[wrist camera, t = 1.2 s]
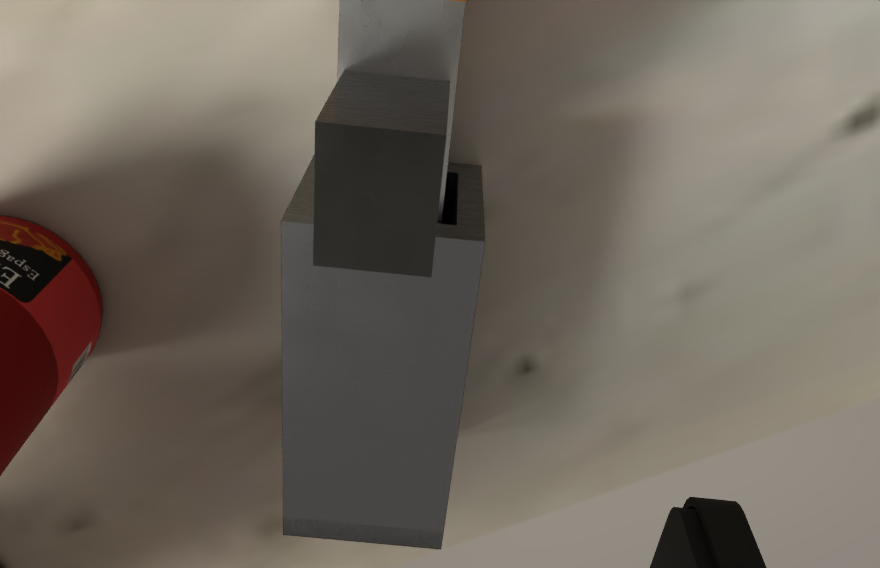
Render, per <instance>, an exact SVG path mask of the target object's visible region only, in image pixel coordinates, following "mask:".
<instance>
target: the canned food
mask: <svg viewBox="0 0 880 568" xmlns="http://www.w3.org/2000/svg"><path fill="white" fill-rule="evenodd" d="M102 315H103V307H102V297H101V294H100V290H99V287H98V284H97V282H96V280H95V278H94V276H93V274H92V272H91V270H90V268H89V267H88V266H87V264H86V263H85V262H84V260H83V259H82V257H81V256H80V255H79V254H78V253H77V252H76V251H75V250H74V249H73V248H72V247H71V246H70V245H69V244H68V243H66V242H65V241H64V240H62V239H61V238H59V237H58V236H57V235H55V234H54V233H53V232H51V231H49V230H47V229H45V228H43V227H41V226H39V225H37V224H34V223H31V222H28V221H25V220H22V219H19V218H13V217H7V216H0V475H1V474H2V473H3V471H4V470H5V469H6V467H7V466H8V465H9V463H10V462H11V460H12V459H13V458H14V456H15V455H16V454H17V452H18V451H19V450H20V448H21V447H22V446H23V444H24V443H25V441H26V440H27V439H28V437H29V436H30V435H31V433H32V432H33V431H34V429H35V428H36V427H37V425H38V424H39V422H40V421H41V420H42V418H43V417H44V416H45V414H46V413H47V412H48V410H49V409H50V407H51V406H52V405H53V403H54V402H55V401H56V399H57V398H58V397H59V395H60V394H61V393H62V391H63V390H64V388H65V387H66V386H67V384H68V383H69V382H70V380H71V379H72V378H73V376H74V375H75V374H76V372H77V371H78V369H79V368H80V367H81V365H82V364H83V363H84V361H85V360H86V359H87V357H88V356H89V355H90V353H91V352H92V350H93V348H94V346H95V344H96V342H97V339H98V336H99V331H100V327H101V321H102Z"/></svg>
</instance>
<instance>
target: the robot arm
mask: <svg viewBox="0 0 880 568" xmlns="http://www.w3.org/2000/svg"><path fill="white" fill-rule="evenodd" d="M650 568H766V566H765V563H764V561H763V558H762V556H761V553H760V551H759V548H758V546H757V543H756V541H755V538H754V536H753V533H752V531H751V529H750V526H749V524H748V521H747V519H746V516H745V514H744V511H743V510H742V508H741V506H740V505H739V504H738V503H737V502H735V501H725V500H716V499H706V498H696V497H690V498H689V499H687V500H686V502H685V504H684V506H683V508H678V507H673V508H672V509H671V511H670V513H669V515H668V518H667V521H666V523H665V527H664V529H663V532H662V535H661V538H660V540H659V543H658V546H657V549H656V552H655V555H654V558H653V561H652V563H651V566H650Z"/></svg>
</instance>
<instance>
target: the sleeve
mask: <svg viewBox="0 0 880 568" xmlns="http://www.w3.org/2000/svg"><path fill="white" fill-rule="evenodd" d="M314 176H315V154H314V156H313V158H312V160H311V162H310V164H309V166H308V168H307V170H306V172H305V174H304V176H303V178H302V180H301V182H300V184H299V186H298V188H297V190H296V192H295V194H294V196H293V198H292V200H291V202H290V204H289V206H288V208H287V210H286V212H285V214H284V216H283V218H282V220H281V271H282V426H283V535H291V536H302V537H312V538H323V539H334V540H345V541H356V542H366V543H377V544H388V545H399V546H410V547H420V548H431V549H441V546H442V539H443V532H444V525H445V518H446V511H447V504H448V497H449V490H450V483H451V476H452V469H453V462H454V455H455V448H456V441H457V434H458V427H459V420H460V413H461V406H462V399H463V393H464V386H465V379H466V372H467V365H468V358H469V351H470V344H471V337H472V330H473V323H474V316H475V309H476V302H477V295H478V288H479V281H480V274H481V267H482V260H483V253H484V246H485V230H484V209H483V188H482V167H481V166H477V165H467V164H457V163H448V167H447V176H446V186H445V195H444V204H443V213H442V222H441V224H439V223H437V229H436V238H435V248H434V257H433V267H432V276H431V277H422V276H412V275H402V274H392V273H382V272H372V271H362V270H352V269H342V268H332V267H322V266H313V234H314Z"/></svg>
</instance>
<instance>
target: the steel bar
mask: <svg viewBox="0 0 880 568" xmlns="http://www.w3.org/2000/svg"><path fill="white" fill-rule="evenodd" d="M467 1H468V0H340V6H339V38H338V70H337V84H336V85H335V87H334V89H333V91H332V93H331V94H330V96H329V98H328V100H327V102H326V103H325V105H324V107H323V109H322V111H321V112H320V114H319V116H318V118H317V120H316V121H315V176H314V234H313V266H322V267H332V268H342V269H352V270H362V271H372V272H382V273H392V274H402V275H412V276H422V277H431V276H432V267H433V257H434V248H435V238H436V229H437V223H439V224H441V222H442V213H443V204H444V195H445V186H446V176H447V167H448V158H449V149H450V140H451V131H452V122H453V113H454V103H455V94H456V85H457V76H458V67H459V58H460V49H461V40H462V30H463V21H464V12H465V3H466V2H467Z"/></svg>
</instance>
